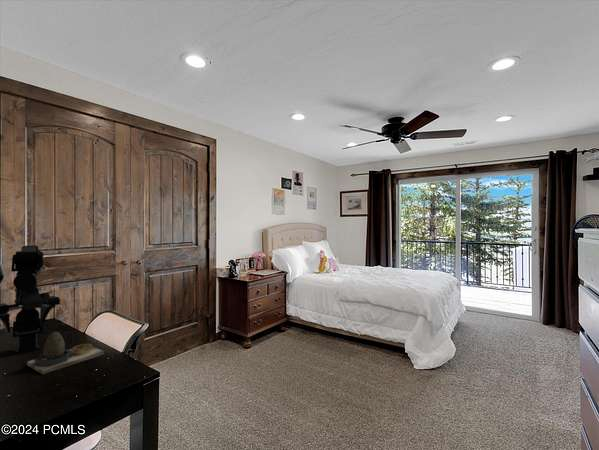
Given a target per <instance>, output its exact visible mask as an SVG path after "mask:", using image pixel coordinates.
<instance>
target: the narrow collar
mask: <svg viewBox="0 0 599 450" xmlns="http://www.w3.org/2000/svg"><path fill="white" fill-rule="evenodd" d="M93 347H94V344H92V343H89V342H88V343H80V344H77V345H75V346H73V347H72V348H71V349H72V354H74V355H82V354H86V353H89V352H91V351H92V350H93Z"/></svg>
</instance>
